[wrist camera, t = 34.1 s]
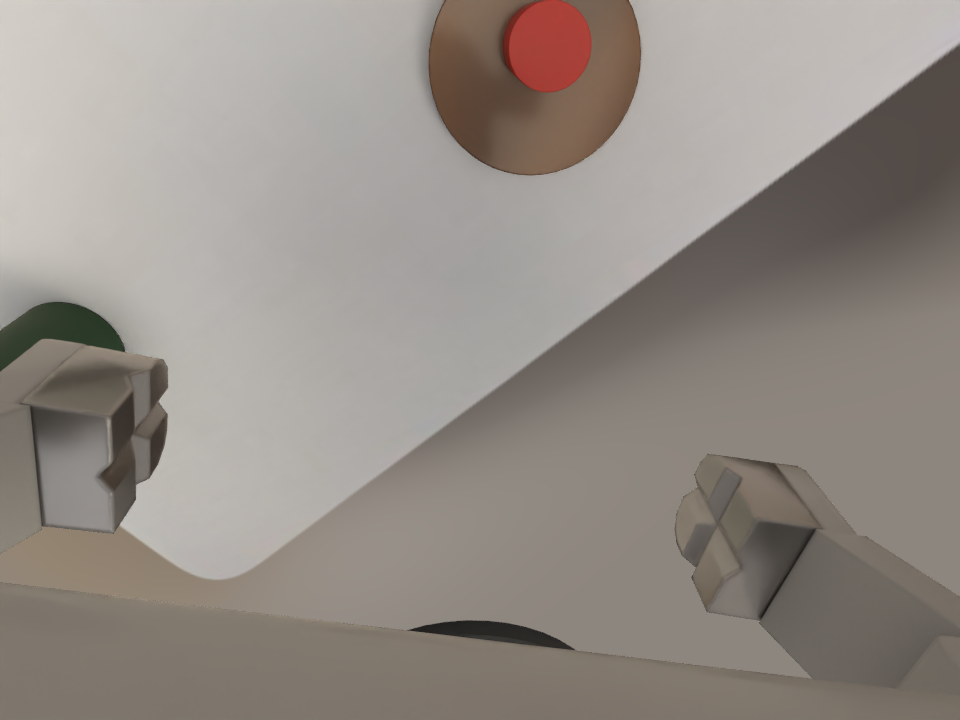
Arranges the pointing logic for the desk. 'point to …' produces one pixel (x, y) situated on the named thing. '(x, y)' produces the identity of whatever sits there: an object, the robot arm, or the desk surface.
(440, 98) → the coaster
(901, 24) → the desk surface
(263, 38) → the desk surface
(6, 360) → the bottle
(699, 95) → the desk surface
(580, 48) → the cap
